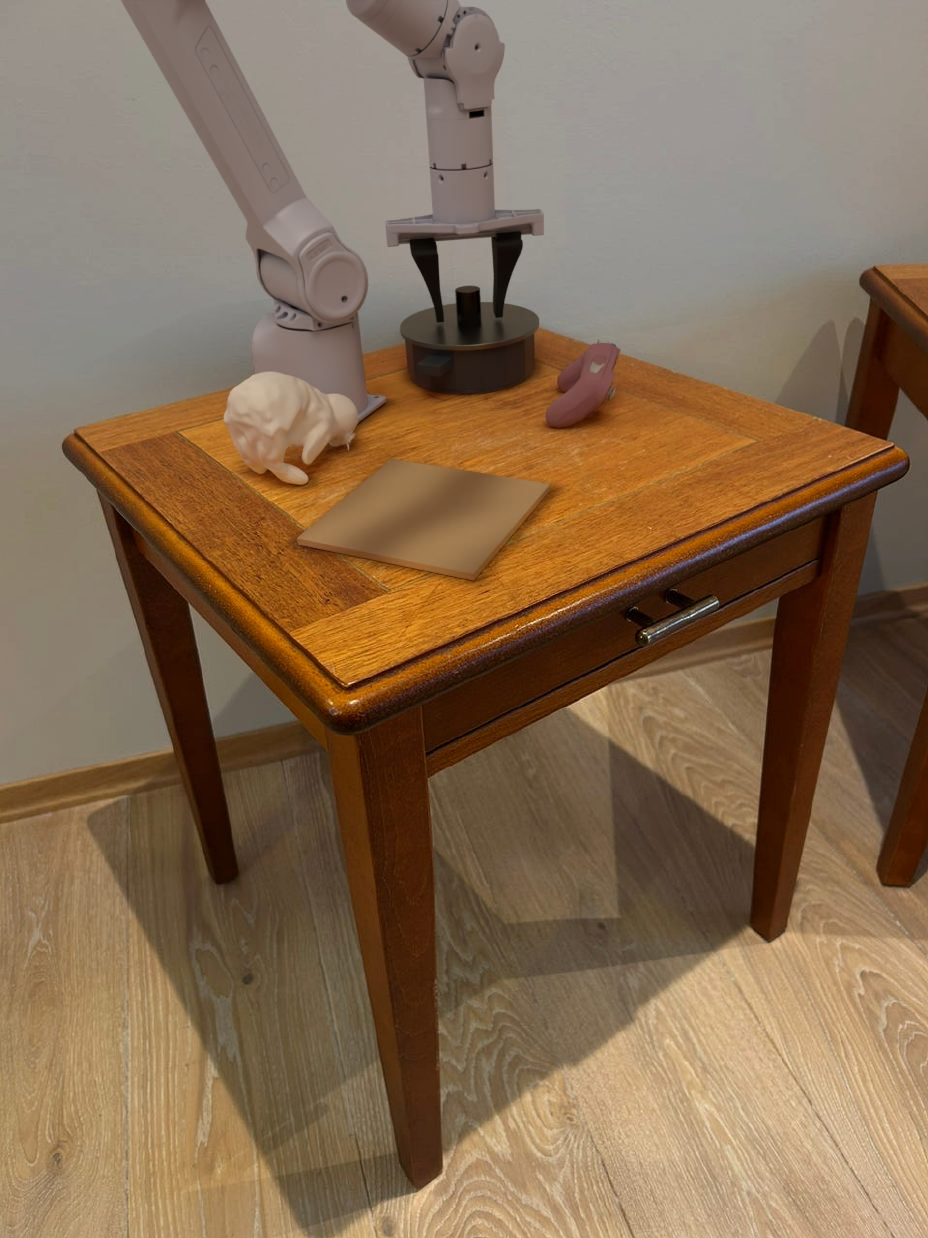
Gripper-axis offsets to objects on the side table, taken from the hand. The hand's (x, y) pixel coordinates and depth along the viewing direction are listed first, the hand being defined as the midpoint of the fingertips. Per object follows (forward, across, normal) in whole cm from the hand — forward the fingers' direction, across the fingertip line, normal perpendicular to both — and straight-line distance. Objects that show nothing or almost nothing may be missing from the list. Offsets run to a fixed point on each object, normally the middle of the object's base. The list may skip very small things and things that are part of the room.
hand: (469, 316), depth 94 cm
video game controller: (+6, +9, -12) cm, 16 cm away
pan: (+5, 0, 0) cm, 5 cm away
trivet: (+5, -6, -30) cm, 31 cm away
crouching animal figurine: (+6, -16, -19) cm, 25 cm away
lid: (+1, 0, 0) cm, 1 cm away
